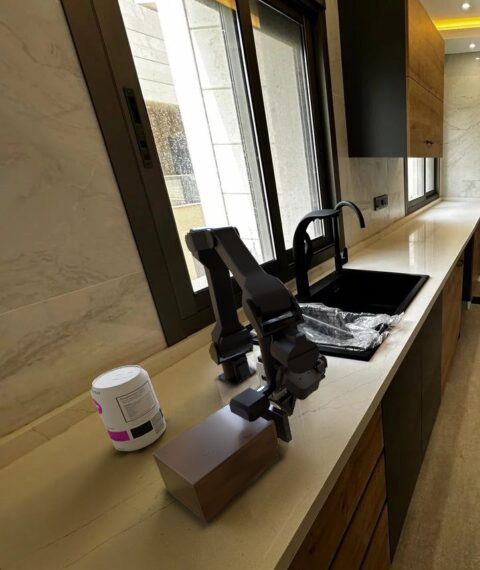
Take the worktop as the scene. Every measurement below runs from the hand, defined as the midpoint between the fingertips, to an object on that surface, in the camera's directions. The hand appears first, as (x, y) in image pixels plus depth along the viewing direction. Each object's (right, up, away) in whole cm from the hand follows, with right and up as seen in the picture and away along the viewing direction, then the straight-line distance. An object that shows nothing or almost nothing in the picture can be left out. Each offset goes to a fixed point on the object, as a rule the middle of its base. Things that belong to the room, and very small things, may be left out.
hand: (289, 415), depth 67 cm
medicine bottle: (-9, +2, +17) cm, 19 cm away
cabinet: (-8, -7, -8) cm, 14 cm away
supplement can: (-30, -4, 0) cm, 30 cm away
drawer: (-6, -5, -4) cm, 9 cm away
